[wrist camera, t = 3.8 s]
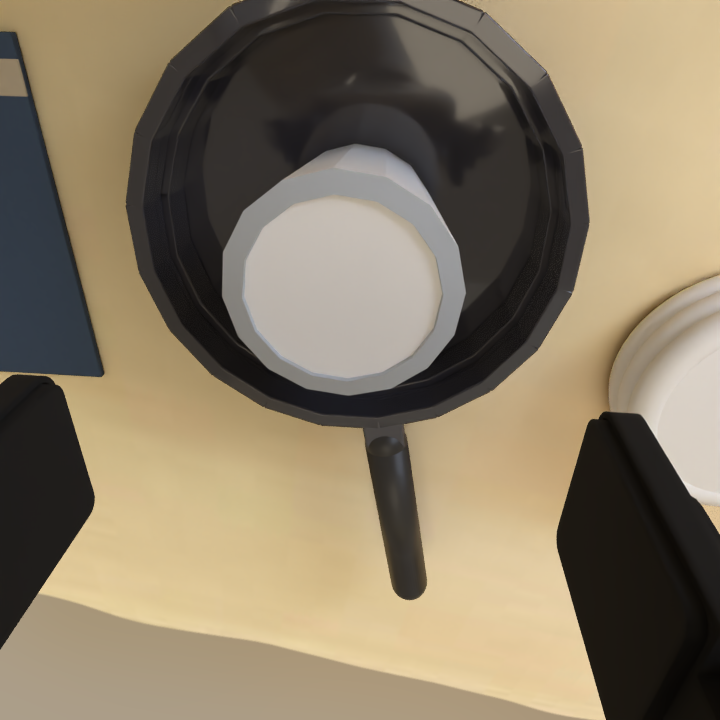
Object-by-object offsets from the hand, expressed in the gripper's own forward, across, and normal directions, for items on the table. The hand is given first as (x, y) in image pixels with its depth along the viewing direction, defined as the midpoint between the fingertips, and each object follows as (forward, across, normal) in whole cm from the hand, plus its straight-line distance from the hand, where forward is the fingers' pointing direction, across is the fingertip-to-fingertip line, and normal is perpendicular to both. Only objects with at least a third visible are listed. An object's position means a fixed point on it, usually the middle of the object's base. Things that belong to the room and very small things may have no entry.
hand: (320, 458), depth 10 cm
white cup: (+14, 0, 0) cm, 14 cm away
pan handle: (+12, -2, +12) cm, 17 cm away
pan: (+14, 0, 0) cm, 14 cm away
